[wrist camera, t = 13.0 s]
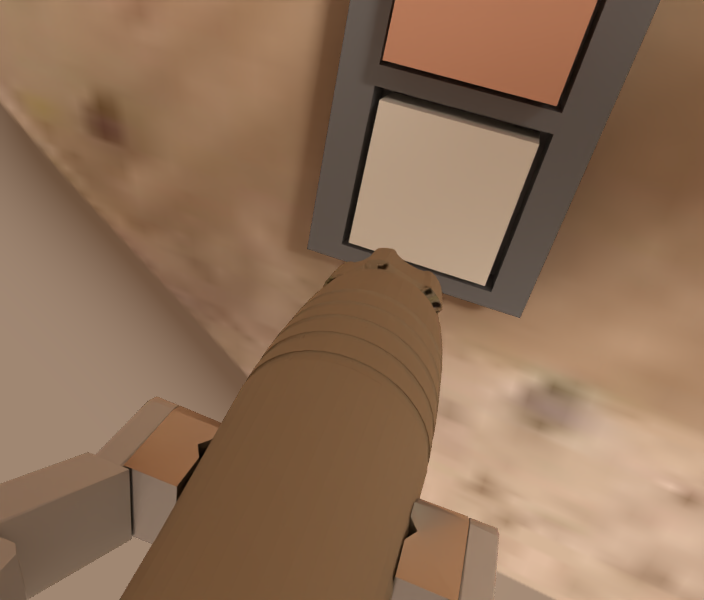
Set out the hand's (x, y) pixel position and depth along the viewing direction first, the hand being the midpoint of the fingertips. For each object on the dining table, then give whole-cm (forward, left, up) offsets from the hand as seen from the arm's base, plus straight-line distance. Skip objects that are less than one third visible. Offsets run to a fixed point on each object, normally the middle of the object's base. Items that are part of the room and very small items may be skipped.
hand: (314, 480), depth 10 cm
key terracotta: (-8, 0, -17) cm, 19 cm away
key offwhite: (0, 0, -18) cm, 18 cm away
